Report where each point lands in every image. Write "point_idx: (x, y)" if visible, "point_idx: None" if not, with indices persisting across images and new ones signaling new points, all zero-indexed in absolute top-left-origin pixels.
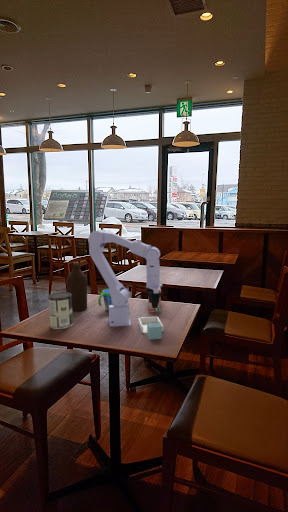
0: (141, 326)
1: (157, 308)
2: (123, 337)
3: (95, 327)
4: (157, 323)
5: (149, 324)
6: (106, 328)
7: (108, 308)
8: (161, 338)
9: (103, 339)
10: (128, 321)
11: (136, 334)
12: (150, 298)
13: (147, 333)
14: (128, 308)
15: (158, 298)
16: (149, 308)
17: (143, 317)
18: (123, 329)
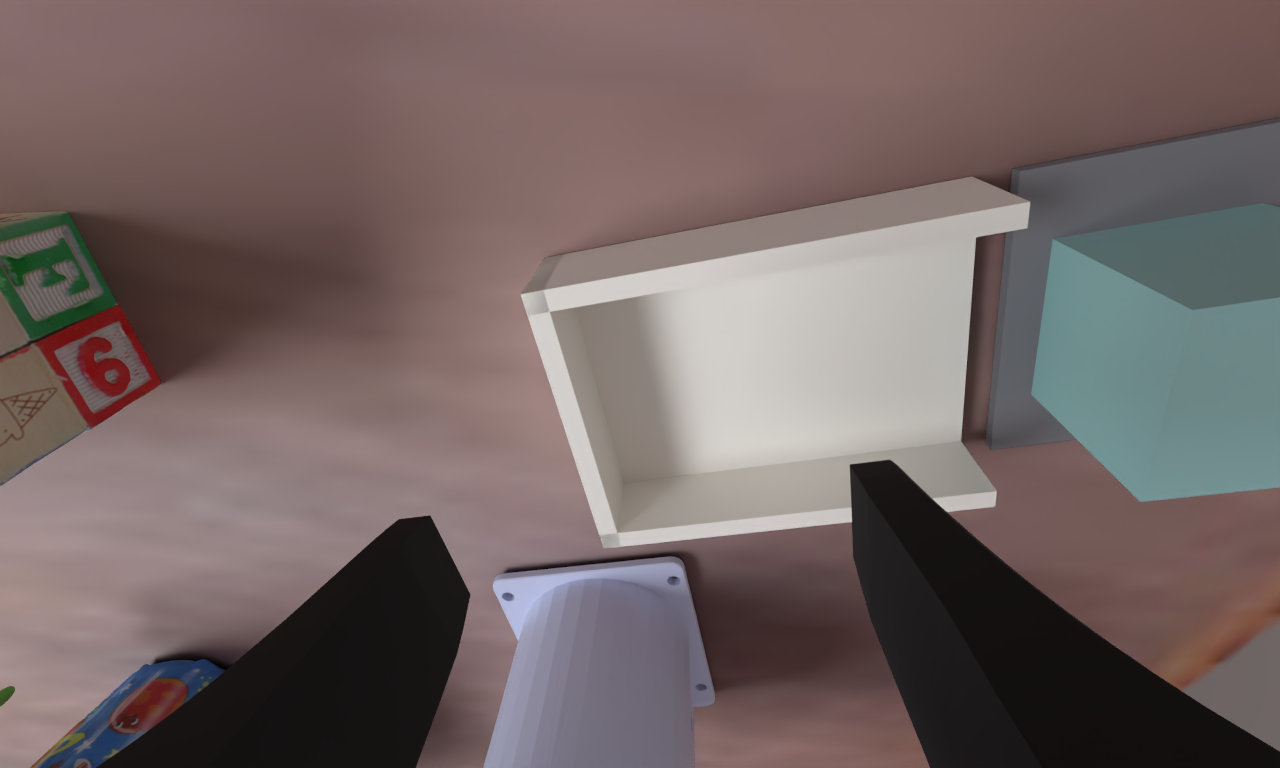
0: (960, 509)
1: (24, 286)
2: None
3: (707, 764)
4: (1246, 344)
5: (1230, 472)
6: (735, 709)
7: None
8: (1263, 208)
9: None
10: (632, 601)
11: None
12: (416, 688)
13: (1050, 404)
14: (606, 763)
15: (1193, 738)
16: (97, 407)
17: (590, 492)
18: (773, 604)
